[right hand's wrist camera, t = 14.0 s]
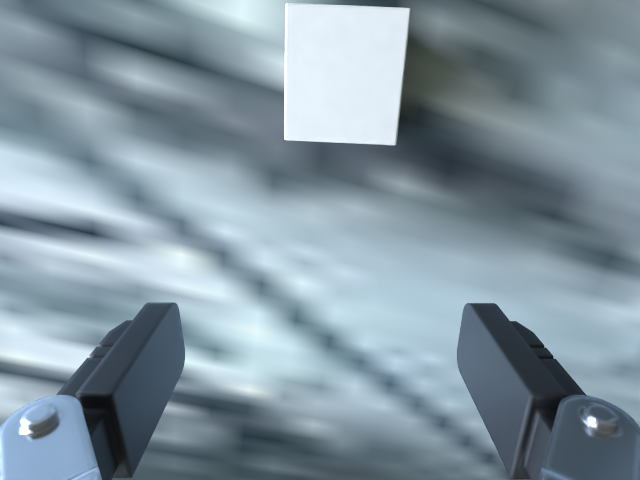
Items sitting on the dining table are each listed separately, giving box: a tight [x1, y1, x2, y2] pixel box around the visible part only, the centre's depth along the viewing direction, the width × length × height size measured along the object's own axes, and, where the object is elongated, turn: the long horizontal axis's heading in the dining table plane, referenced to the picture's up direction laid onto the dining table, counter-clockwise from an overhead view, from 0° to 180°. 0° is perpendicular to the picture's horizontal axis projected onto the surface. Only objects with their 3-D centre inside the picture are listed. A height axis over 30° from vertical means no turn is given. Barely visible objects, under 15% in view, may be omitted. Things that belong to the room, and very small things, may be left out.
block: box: [284, 3, 411, 145], centre depth 17 cm, size 4×5×5 cm
